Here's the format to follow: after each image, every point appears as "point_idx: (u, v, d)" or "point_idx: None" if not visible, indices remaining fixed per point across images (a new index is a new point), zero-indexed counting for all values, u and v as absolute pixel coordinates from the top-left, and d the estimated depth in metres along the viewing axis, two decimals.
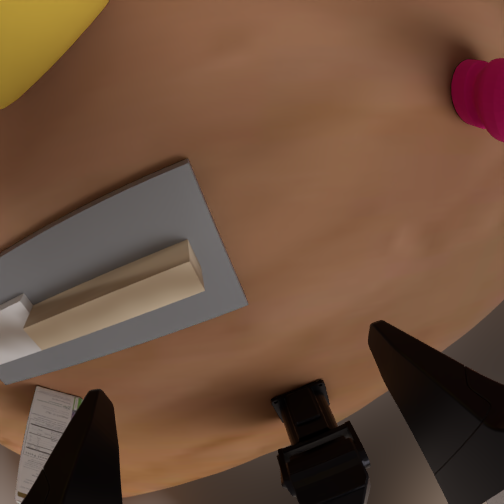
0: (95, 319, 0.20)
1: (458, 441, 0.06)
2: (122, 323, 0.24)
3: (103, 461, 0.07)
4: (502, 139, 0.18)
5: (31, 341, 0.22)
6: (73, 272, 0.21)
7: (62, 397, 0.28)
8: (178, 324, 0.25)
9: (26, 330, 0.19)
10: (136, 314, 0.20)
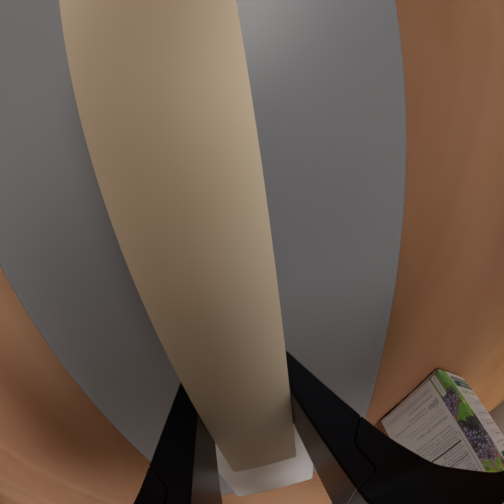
0: (246, 370, 0.07)
1: (345, 497, 0.06)
2: (329, 269, 0.10)
3: (208, 449, 0.07)
4: None
5: None
6: (153, 337, 0.09)
7: (417, 398, 0.17)
8: (389, 126, 0.08)
9: (239, 469, 0.10)
10: (264, 252, 0.05)
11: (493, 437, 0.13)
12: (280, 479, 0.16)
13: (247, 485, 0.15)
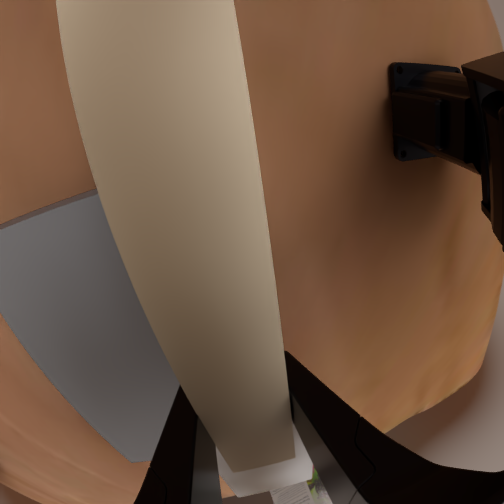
0: (244, 371, 0.07)
1: (345, 497, 0.06)
2: (143, 336, 0.20)
3: (208, 449, 0.07)
4: None
5: None
6: (78, 361, 0.20)
7: None
8: None
9: (238, 470, 0.10)
10: (262, 254, 0.05)
11: None
12: (280, 479, 0.16)
13: (247, 485, 0.15)
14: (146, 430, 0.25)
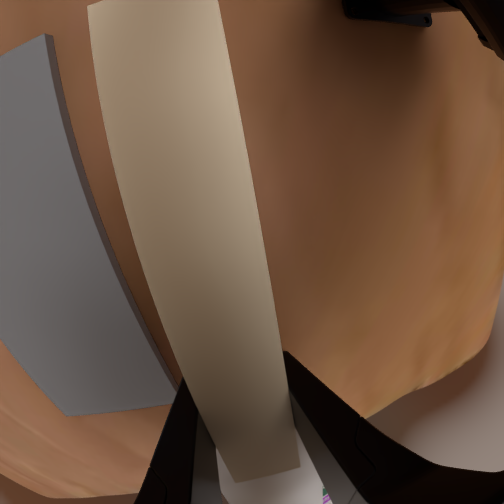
0: (240, 349, 0.07)
1: (345, 497, 0.06)
2: (49, 217, 0.15)
3: (208, 449, 0.07)
4: None
5: None
6: None
7: None
8: (55, 137, 0.13)
9: (240, 479, 0.09)
10: (251, 218, 0.06)
11: None
12: None
13: None
14: (70, 366, 0.21)
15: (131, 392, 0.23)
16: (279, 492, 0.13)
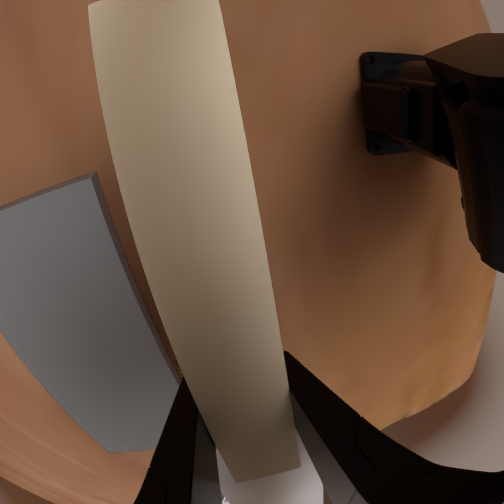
0: (241, 348, 0.07)
1: (345, 497, 0.06)
2: (110, 327, 0.20)
3: (208, 449, 0.07)
4: None
5: None
6: (51, 348, 0.20)
7: None
8: (114, 271, 0.18)
9: (241, 479, 0.09)
10: (252, 217, 0.06)
11: None
12: None
13: None
14: (120, 421, 0.25)
15: None
16: (279, 492, 0.13)
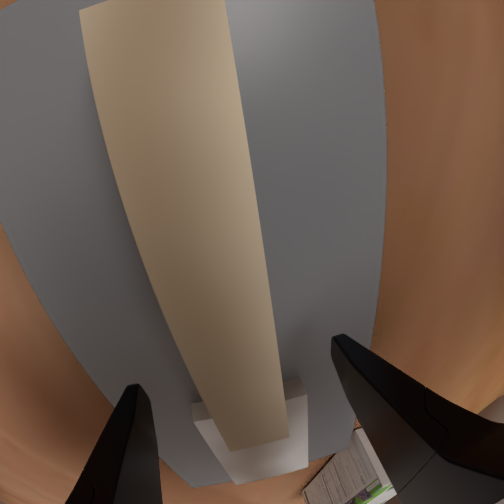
0: (239, 343, 0.08)
1: (415, 466, 0.06)
2: (316, 252, 0.10)
3: (145, 458, 0.07)
4: None
5: None
6: (152, 316, 0.10)
7: (366, 467, 0.18)
8: (369, 120, 0.09)
9: (235, 449, 0.11)
10: (253, 232, 0.06)
11: None
12: (277, 466, 0.17)
13: (244, 471, 0.16)
14: None
15: None
16: (268, 455, 0.16)
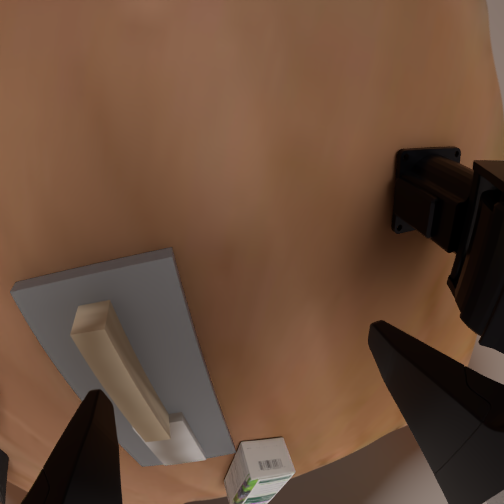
0: (135, 404, 0.21)
1: (458, 441, 0.06)
2: (171, 369, 0.24)
3: (103, 461, 0.07)
4: None
5: (176, 432, 0.27)
6: None
7: (244, 466, 0.32)
8: (183, 328, 0.22)
9: (147, 441, 0.24)
10: (130, 380, 0.19)
11: (252, 495, 0.33)
12: (184, 456, 0.30)
13: (166, 457, 0.29)
14: None
15: None
16: (176, 448, 0.29)
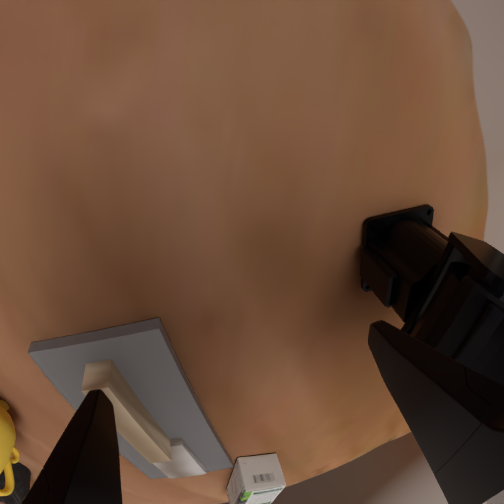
0: (138, 437, 0.24)
1: (458, 441, 0.06)
2: (168, 406, 0.27)
3: (103, 461, 0.07)
4: None
5: (177, 453, 0.30)
6: None
7: (240, 479, 0.35)
8: (175, 378, 0.25)
9: (151, 462, 0.27)
10: (133, 420, 0.23)
11: (249, 503, 0.36)
12: (186, 471, 0.33)
13: (171, 472, 0.33)
14: None
15: None
16: (178, 465, 0.32)
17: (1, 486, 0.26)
